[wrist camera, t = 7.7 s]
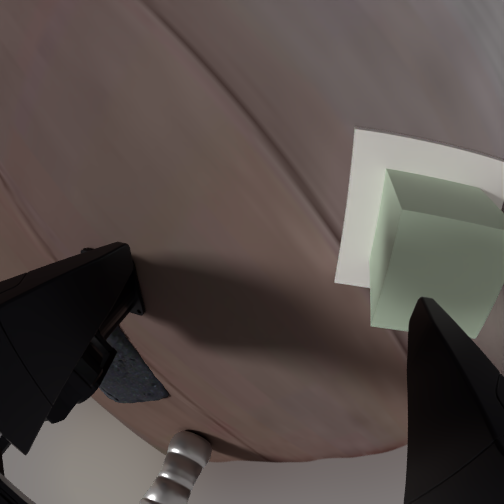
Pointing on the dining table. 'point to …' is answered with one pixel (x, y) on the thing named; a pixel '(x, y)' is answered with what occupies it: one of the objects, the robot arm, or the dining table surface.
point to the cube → (435, 251)
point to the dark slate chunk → (129, 374)
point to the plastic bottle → (179, 469)
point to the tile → (408, 160)
